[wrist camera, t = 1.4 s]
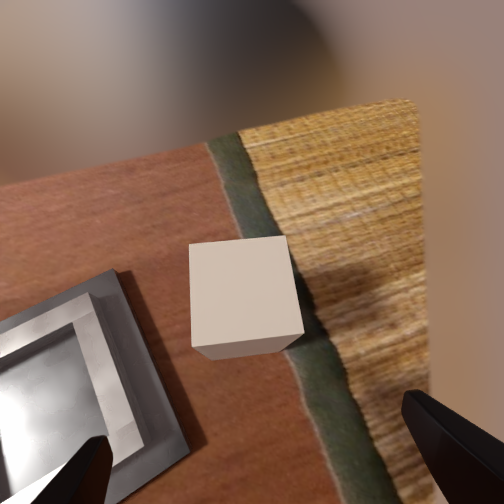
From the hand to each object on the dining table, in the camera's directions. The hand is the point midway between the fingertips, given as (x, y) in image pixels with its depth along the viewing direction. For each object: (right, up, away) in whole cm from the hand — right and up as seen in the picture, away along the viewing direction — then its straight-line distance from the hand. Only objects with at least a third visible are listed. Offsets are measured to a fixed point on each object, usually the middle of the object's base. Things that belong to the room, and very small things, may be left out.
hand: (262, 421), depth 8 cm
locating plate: (-14, -5, +10) cm, 18 cm away
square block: (-1, 0, +13) cm, 13 cm away
